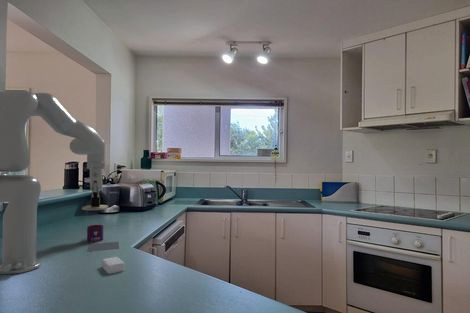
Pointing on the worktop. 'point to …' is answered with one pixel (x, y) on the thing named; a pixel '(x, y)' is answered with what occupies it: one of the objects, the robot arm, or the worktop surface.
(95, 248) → the mat
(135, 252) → the worktop surface
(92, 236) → the mug
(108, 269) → the soap
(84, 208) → the lid
